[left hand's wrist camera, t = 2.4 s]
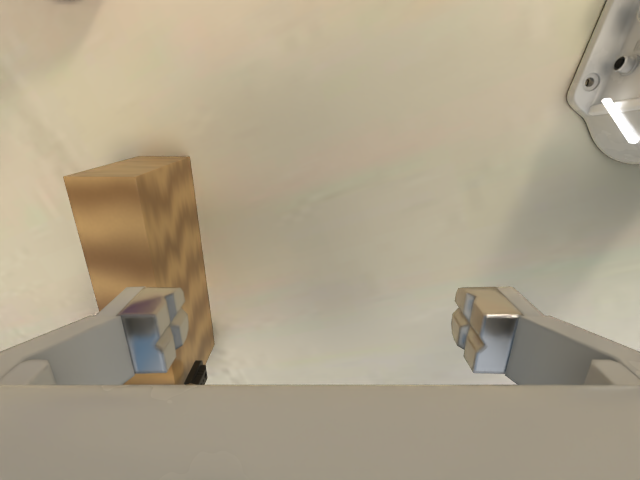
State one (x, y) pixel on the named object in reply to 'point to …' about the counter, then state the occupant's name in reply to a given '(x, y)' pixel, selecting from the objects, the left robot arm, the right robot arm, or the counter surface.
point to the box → (145, 243)
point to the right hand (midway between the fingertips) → (163, 365)
